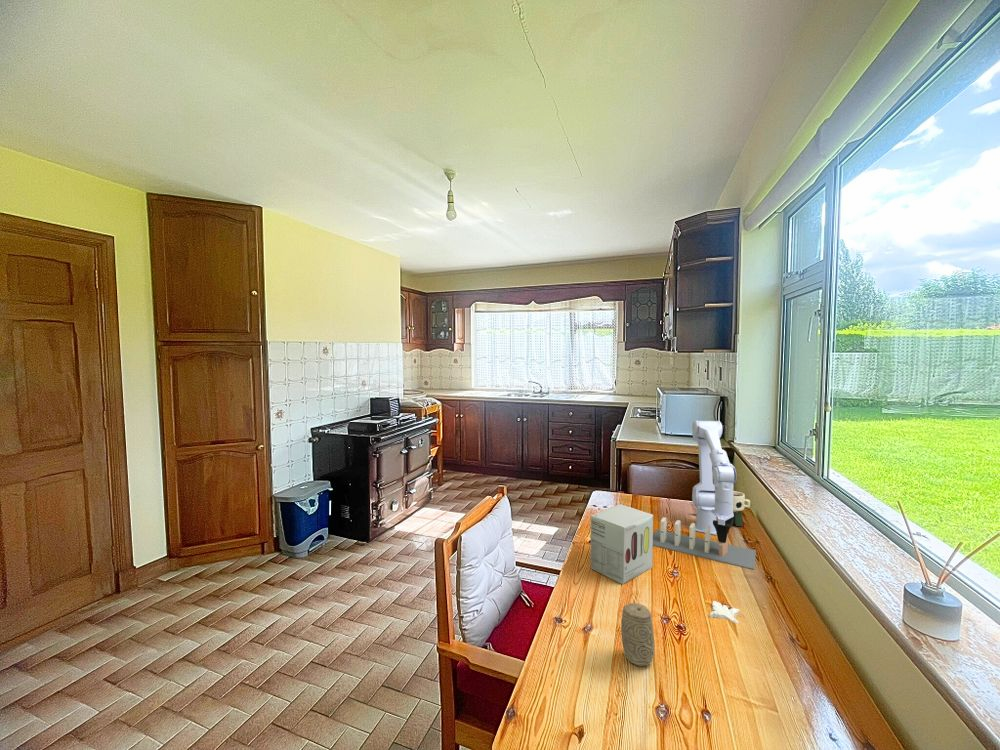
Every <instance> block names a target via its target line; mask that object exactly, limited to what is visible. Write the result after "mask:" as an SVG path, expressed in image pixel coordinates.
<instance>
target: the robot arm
mask: <svg viewBox="0 0 1000 750" xmlns="http://www.w3.org/2000/svg"><path fill="white" fill-rule="evenodd" d="M722 424H723V423H722V422H721V421H720V420H696V419H695V420H694V421H693V422H692V438H693V441H695V442H696V443H697V447H698V465H699V466H698V467H699V468H698V469H699V470H698V471H699V482H698V483H696V484H695V485H694V486H692V492H691V493H692V495H691V500H692V504H693V506H694V507H696V513H695V514H696V518H695V519H696V523H695V532H700V533H704V534H705V529H706V526H710V535H714V536H717V542H721V543H726V539H727V534H728V535H729V532H730V529H731V528H732V526H733V525H731V524H730V523H731V521H732V519H733V518H734V514H733V491H734V487H735V485H734V484H735V483H736V482H737V478H738V477H737V476H738V475H737V474H738V473H737V471H736V467H735V466H734V465H733V463H731V462H730V460H729V457H728V453H727V451H726V450H725V449H722V444H721V440H720V438H721V437H722V435H723V425H722Z"/></svg>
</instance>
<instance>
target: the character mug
mask: <svg viewBox="0 0 1000 750" xmlns="http://www.w3.org/2000/svg"><path fill="white" fill-rule="evenodd" d="M745 495H746V494H745V493H743V492H740V491H736V490H733V514H734V518H733V519H732V521H731V523H730V524H731V525H732V526H734V525H735V526H736V527H741V526H743V525H744V518H743V512H742V511H744V509H745V508H749V509H750V507H751V499H747V498H746V496H745ZM745 502H747V503H746V504H745Z"/></svg>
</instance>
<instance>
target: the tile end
mask: <svg viewBox="0 0 1000 750" xmlns="http://www.w3.org/2000/svg"><path fill="white" fill-rule="evenodd" d="M728 541H729V533H728V534H727V539H726V543H721V542H719V541H718V542H719V555H720V556H724V555H725V554H726V553H727V552H728V545H729V544H728V543H729V542H728Z"/></svg>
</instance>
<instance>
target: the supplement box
mask: <svg viewBox="0 0 1000 750" xmlns="http://www.w3.org/2000/svg"><path fill="white" fill-rule="evenodd" d="M653 534H654V514H652V513H649V512H646V511H643V510H639V509H638V508H637V509H636V508H633V507H631V506H627V505H624V504H621V503H619V504H617V505H614V506H612V507H610V508H609V507H608V508H606V509H605V510H602V511H600V512H596V513H595V514H592V515H590V569H591V570H593V571H595V572H597V573H599V574H602V575H603V576H604V577H607V578H609V579H611V580H613V581H615V582H617V583H618V584H621V585H624V584H626V583H627V582H629V581H631V580H632V579H634V578H636V577H637V576H640V575H641V574H643V573H645V572H646V571H648V570H650V569H652V568H653V553H654V552H653V551H654V550H653V548H654V546H653Z"/></svg>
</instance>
